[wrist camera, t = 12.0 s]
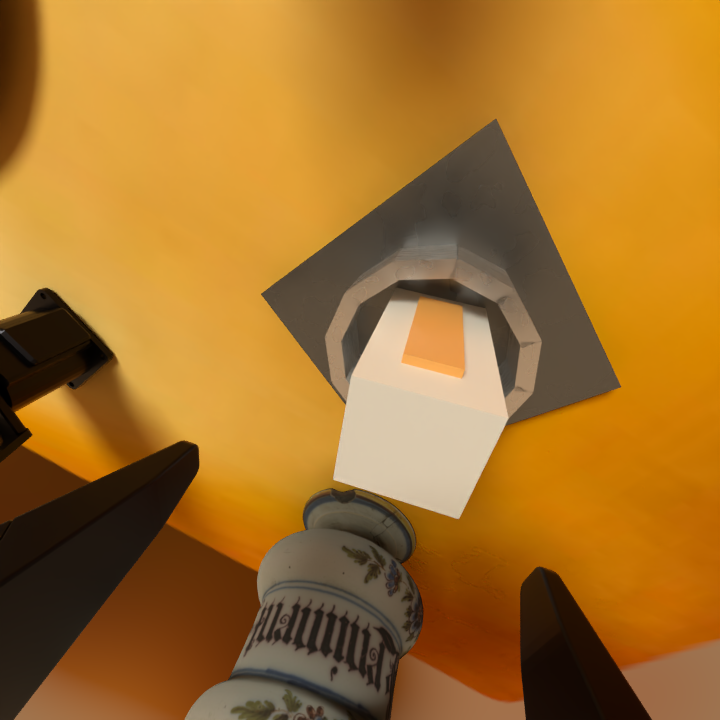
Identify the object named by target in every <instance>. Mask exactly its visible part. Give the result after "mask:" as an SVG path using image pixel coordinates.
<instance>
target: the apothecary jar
mask: <svg viewBox="0 0 720 720" xmlns="http://www.w3.org/2000/svg"><path fill="white" fill-rule="evenodd" d="M303 521H304V525H305V528H306V530H305V531H301V532H297V533H294V534H291V535H289V536H287V537H285V538H283V539H282V540H280V541H279V542H277V543H276V544H275V545H274V546H273V547H272V548H271V549H270V550H269V551H268V553H267V554H266V555H265V557H264V559H263V560H262V563H261V565H260V568H259V572H258V578H257V588H258V595H259V600H260V603H261V607H260V609H259V612H258V615H257V617H256V620H255V622H254V625H253V627H252V629H251V632H250V634H249V636H248V638H247V641H246V643H245V645H244V648H243V650H242V652H241V654H240V656H239V659H238V661H237V663H236V665H235V667H234V669H233V672H232V674H231V676H230V678H229V679H228V680H227V681H224V682H222V683H219V684H217V685H215V686H213V687H212V688H210V689H209V690H207V691H206V692H205V693H204V694H202V695H201V696H200V697H199V698H198V700H197V701H196V702H195V703H194V705H193V706H192V708H191V709H190V711H189V712H188V714H187V716H186V718H185V720H390V718H391V709H392V701H393V693H394V686H395V680H396V675H397V669H398V663H399V659H401V658H402V657H403V656H404V655H405V654H406V653H407V652H408V651H409V650H410V649H411V648H412V647H413V645H414V644H415V642H416V640H417V639H418V636H419V634H420V631H421V627H422V623H423V605H422V600H421V596H420V593H419V590H418V588H417V586H416V584H415V582H414V581H413V579H412V578H411V576H410V575H409V573H408V572H407V571H406V570H405V568H404V567H403V566H402V565H401V564H402V563H403V562H405V561H406V560H408V559H409V558H410V556H411V555H412V554H413V552H414V549H415V545H416V538H415V533H414V530H413V528H412V526H411V524H410V523H409V521H408V519H407V518H406V517H405V516H404V515H403V513H402V512H400V510H398V509H397V508H396V507H395V506H394V505H392V504H391V503H389V502H388V501H386V500H384V499H383V498H381V497H379V496H376V495H374V494H371V493H368V492H365V491H362V490H357V489H353V490H350V491H346V492H339V491H337V490H335V489H326V490H323V491H320V492H318V493H316V494H314V495H313V496H312V497H311V498H310V499H309V500H308V501H307V503H306V505H305V507H304V510H303Z"/></svg>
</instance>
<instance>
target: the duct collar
mask: <svg viewBox="0 0 720 720" xmlns="http://www.w3.org/2000/svg"><path fill="white" fill-rule="evenodd" d="M396 288H401V289H405V290H409V291H413V292H418V293H422V294H426V295H430V296H435V297H439V298H443V299H447V300H452V301H456V302H460V303H464V304H469V305H473V306H477V307H481V308H486V312H487V317H488V322H489V327H490V332H491V336H492V341H493V346H494V351H495V356H496V360H497V365H498V370H499V375H500V380H501V384H502V389H503V394H504V399H505V404H506V409H507V413H508V420H507V422H506V425H509V424H512V423H515V422H518V421H521V420H524V419H527V418H530V417H533V416H536V415H539V414H542V413H545V412H548V411H551V410H554V409H557V408H560V407H563V406H566V405H569V404H572V403H575V402H578V401H581V400H584V399H587V398H590V397H593V396H596V395H599V394H602V393H605V392H608V391H611V390H614V389H617V388H620V387H621V386H620V383H619V381H618V379H617V377H616V375H615V373H614V371H613V368H612V366H611V364H610V362H609V360H608V358H607V356H606V353H605V351H604V349H603V347H602V345H601V343H600V341H599V338H598V336H597V334H596V332H595V330H594V328H593V325H592V323H591V321H590V319H589V317H588V315H587V313H586V310H585V308H584V306H583V304H582V302H581V300H580V298H579V295H578V293H577V291H576V289H575V287H574V285H573V283H572V280H571V278H570V276H569V274H568V272H567V270H566V268H565V265H564V263H563V261H562V259H561V257H560V255H559V253H558V250H557V248H556V246H555V244H554V242H553V240H552V238H551V235H550V233H549V231H548V229H547V227H546V225H545V222H544V220H543V218H542V216H541V214H540V212H539V210H538V207H537V205H536V203H535V201H534V199H533V197H532V195H531V192H530V190H529V188H528V186H527V184H526V182H525V180H524V177H523V175H522V173H521V171H520V169H519V167H518V165H517V162H516V160H515V158H514V156H513V154H512V152H511V150H510V147H509V145H508V143H507V141H506V139H505V137H504V134H503V132H502V130H501V128H500V126H499V124H498V122H497V119H495V120H493V121H492V122H491V123H489V124H488V125H487V126H485V127H484V128H483V129H481V130H480V131H479V132H477V133H476V134H475V135H473V136H472V137H471V138H469V139H468V140H467V141H465V142H464V143H463V144H461V145H460V146H459V147H457V148H456V149H455V150H453V151H452V152H451V153H449V154H448V155H447V156H445V157H444V158H442V159H441V160H440V161H438V162H437V163H436V164H434V165H433V166H432V167H430V168H429V169H428V170H426V171H425V172H424V173H422V174H421V175H420V176H418V177H417V178H416V179H414V180H413V181H412V182H410V183H409V184H408V185H406V186H405V187H404V188H402V189H401V190H400V191H398V192H397V193H396V194H394V195H393V196H392V197H390V198H389V199H388V200H386V201H385V202H384V203H382V204H381V205H380V206H378V207H377V208H375V209H374V210H373V211H371V212H370V213H369V214H367V215H366V216H365V217H363V218H362V219H361V220H359V221H358V222H357V223H355V224H354V225H353V226H351V227H350V228H349V229H347V230H346V231H345V232H343V233H342V234H341V235H339V236H338V237H337V238H335V239H334V240H333V241H331V242H330V243H329V244H327V245H326V246H325V247H323V248H322V249H321V250H319V251H318V252H317V253H315V254H314V255H313V256H311V257H310V258H309V259H307V260H306V261H304V262H303V263H302V264H300V265H299V266H298V267H296V268H295V269H294V270H292V271H291V272H290V273H288V274H287V275H286V276H284V277H283V278H282V279H280V280H279V281H278V282H276V283H275V284H274V285H272V286H271V287H270V288H268V289H267V290H266V291H264V292H263V293H262V294H261V295H262V296H263V297H264V299H265V300H266V301H267V303H268V304H269V305H270V306H271V308H272V309H273V310H274V312H275V313H276V314H277V316H278V317H279V318H280V320H281V321H282V322H283V323H284V325H285V326H286V327H287V329H288V330H289V331H290V333H291V334H292V335H293V337H294V338H295V339H296V340H297V342H298V343H299V344H300V346H301V347H302V348H303V350H304V351H305V352H306V354H307V355H308V356H309V357H310V359H311V360H312V361H313V363H314V364H315V365H316V367H317V368H318V369H319V371H320V372H321V373H322V374H323V376H324V377H325V378H326V380H327V381H328V382H329V384H330V385H331V386H332V388H333V389H334V390H335V391H336V393H337V394H338V395H339V397H340V398H341V399H342V401H343V402H344V403H345V405H346V403H347V397H348V391H349V386H350V380H351V375H352V373H353V371H354V369H355V367H356V365H357V363H358V361H359V359H360V357H361V355H362V354H363V352H364V350H365V348H366V346H367V344H368V342H369V340H370V338H371V336H372V334H373V332H374V330H375V328H376V326H377V324H378V322H379V320H380V318H381V316H382V314H383V313H384V311H385V309H386V307H387V305H388V303H389V301H390V299H391V297H392V295H393V293H394V291H395V289H396ZM506 425H505V426H506Z"/></svg>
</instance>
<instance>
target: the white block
mask: <svg viewBox="0 0 720 720" xmlns="http://www.w3.org/2000/svg"><path fill="white" fill-rule="evenodd" d="M507 420H508V413H507V409H506V404H505V399H504V394H503V389H502V384H501V380H500V375H499V370H498V365H497V360H496V356H495V351H494V346H493V341H492V336H491V332H490V327H489V322H488V317H487V312H486V308H481V307H477V306H473V305H469V304H464V303H460V302H456V301H452V300H447V299H443V298H439V297H435V296H430V295H426V294H422V293H418V292H413V291H409V290H405V289H401V288H396V289H395V291H394V293H393V295H392V297H391V299H390V301H389V303H388V305H387V307H386V309H385V311H384V313H383V314H382V316H381V318H380V320H379V322H378V324H377V326H376V328H375V330H374V332H373V334H372V336H371V338H370V340H369V342H368V344H367V346H366V348H365V350H364V352H363V354H362V355H361V357H360V359H359V361H358V363H357V365H356V367H355V369H354V371H353V373H352V375H351V380H350V386H349V391H348V397H347V403H346V408H345V414H344V420H343V425H342V431H341V437H340V442H339V448H338V454H337V459H336V465H335V471H334V476H333V480H336V481H339V482H342V483H345V484H348V485H352V486H355V487H358V488H361V489H364V490H368V491H371V492H374V493H377V494H380V495H383V496H387V497H390V498H393V499H396V500H399V501H402V502H406V503H409V504H412V505H415V506H418V507H421V508H425V509H428V510H431V511H434V512H437V513H440V514H444V515H447V516H450V517H453V518H456V519H459V518H460V516H461V514H462V512H463V510H464V508H465V506H466V504H467V501H468V499H469V497H470V495H471V493H472V491H473V489H474V487H475V485H476V483H477V481H478V479H479V477H480V475H481V473H482V471H483V469H484V467H485V465H486V463H487V461H488V459H489V457H490V455H491V453H492V451H493V449H494V447H495V445H496V443H497V441H498V439H499V437H500V435H501V433H502V431H503V429H504V427H505V425H506V422H507Z"/></svg>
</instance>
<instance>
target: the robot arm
mask: <svg viewBox="0 0 720 720" xmlns="http://www.w3.org/2000/svg"><path fill="white" fill-rule="evenodd" d="M111 359H112V354H111V353H110V351H109V350H108V349H107V348H106V347H105V346H104V345H103V344H102V343H101V342H100V341H99V340H98V339H97V338H96V337H95V336H94V335H93V334H92V333H91V332H90V330H89V329H88V328H87V327H86V326H85V325H84V324H83V323H82V322H81V321H80V320H79V319H78V318H77V317H76V316H75V315H74V314H73V313H72V312H71V311H70V310H69V309H68V308H67V306H66V305H65V304H64V303H63V302H62V301H61V300H60V299H59V298H58V297H57V296H56V295H55V294H54V293H53V292H52V291H51V290H50V289H48V288H42V289H39V290H38V291H37V292H36V293H35V295H34V296H33V297H32V299H31V300H30V301H29V303H28V304H27V305H26V307H25V308H24V309H23V310H22V312H21V313H20V314H18V315H15V316H12V317H9V318H6V319H3V320H0V462H1V461H3V460H4V459H5V458H6V457H7V456H8V455H10V454H11V453H12V452H13V451H14V450H16V449H17V448H18V447H19V446H20V445H22V444H23V443H24V442H25V441H26V440H27V439H29V438H30V437H31V436H32V433H31V432H30V430H29V429H28V428H25V426H24V425H23V424H22V422H21V421H20V420H19V418H18V417H17V415H16V414H15V413H14V412H16V411H18V410H19V409H21V408H23V407H25V406H27V405H28V404H30V403H32V402H34V401H36V400H38V399H39V398H41V397H43V396H45V395H47V394H49V393H50V392H52V391H54V390H56V389H58V388H59V387H61V386H63V385H65V384H67V385H68V386H69V387H70V388H72V389H77V388H79V387H80V386H82V385H83V384H84V383H85V382H86V381H87V380H88V379H90V378H91V377H92V376H93V375H94V374H95V373H96V372H98V371H99V370H100V369H101V368H102V367H103V366H104V365H106V364H107V363H108V362H109V361H110V360H111ZM198 469H199V448H198V446H197V445H196V444H194V443H191V442H188V441H180V442H177V443H175V444H173V445H171V446H169V447H167V448H164V449H162V450H160V451H158V452H156V453H154V454H152V455H149V456H147V457H145V458H143V459H141V460H139V461H136V462H134V463H132V464H130V465H128V466H126V467H123V468H121V469H119V470H117V471H115V472H113V473H110V474H108V475H106V476H104V477H102V478H100V479H98V480H95V481H93V482H91V483H89V484H87V485H85V486H82V487H80V488H78V489H76V490H74V491H72V492H69V493H68V494H65V495H63V496H61V497H59V498H56V499H55V500H52V501H50V502H48V503H46V504H44V505H41V506H39V507H37V508H35V509H33V510H31V511H29V512H26V513H24V514H22V515H20V516H18V517H15V518H14V519H13V521H12V520H9V521H7V522H4V523H2V524H0V720H14V719H15V717H16V716H17V715H18V713H19V712H20V711H21V709H22V708H23V707H24V706H25V704H26V703H27V702H28V701H29V699H30V698H31V696H32V695H33V694H34V692H35V691H36V690H37V689H38V688H39V686H40V685H41V684H42V682H43V681H44V680H45V679H46V677H47V676H48V675H49V673H50V672H51V671H52V670H53V668H54V667H55V666H56V664H57V663H58V662H59V661H60V659H61V658H62V657H63V655H64V654H65V653H66V652H67V650H68V649H69V648H70V646H71V645H72V644H73V642H74V641H75V640H76V638H77V637H78V636H79V635H80V633H81V632H82V631H83V629H84V628H85V627H86V626H87V624H88V623H89V622H90V621H91V619H92V618H93V617H94V615H95V614H96V613H97V611H98V610H99V609H100V608H101V606H102V605H103V604H104V602H105V601H106V600H107V598H108V597H109V596H110V595H111V593H112V592H113V591H114V590H115V588H116V587H117V586H118V584H119V583H120V582H121V581H122V579H123V578H124V577H125V575H126V574H127V573H128V571H129V570H130V569H131V568H132V566H133V565H134V564H135V563H136V561H137V560H138V558H139V557H140V556H141V555H142V554H143V552H144V550H146V548H147V547H148V546H149V544H150V543H151V542H152V541H153V539H154V538H155V537H156V535H157V534H158V533H159V531H160V530H161V529H162V527H163V526H164V524H165V523H166V521H167V520H168V518H169V517H170V515H171V514H172V512H173V510H174V509H175V507H176V506H177V504H178V502H179V501H180V499H181V498H182V496H183V495H184V493H185V491H186V490H187V488H188V487H189V485H190V483H191V482H192V480H193V479H194V477H195V475H196V474H197V472H198ZM520 652H521V673H522V684H523V694H524V704H525V714H526V720H652V719H651V717H650V716H649V714H648V713H647V711H646V710H645V708H644V707H643V705H642V703H641V702H640V700H639V699H638V697H637V696H636V694H635V693H634V691H633V689H632V688H631V686H630V685H629V683H628V682H627V680H626V679H625V677H624V676H623V674H622V672H621V671H620V669H619V668H618V666H617V665H616V663H615V662H614V660H613V658H612V657H611V655H610V654H609V652H608V651H607V649H606V648H605V646H604V644H603V643H602V641H601V640H600V638H599V637H598V635H597V634H596V632H595V631H594V629H593V627H592V626H591V624H590V623H589V621H588V620H587V618H586V617H585V615H584V613H583V612H582V610H581V609H580V607H579V606H578V604H577V603H576V601H575V599H574V598H573V596H572V595H571V593H570V592H569V590H568V589H567V587H566V586H565V584H564V582H563V581H562V579H561V578H560V576H559V575H558V574H557V573H556V572H554V571H552V570H549V569H546V568H543V567H537V568H535V569H534V571H533V572H532V573H531V574H530V575H529V576H528V577H527V578H526V580H525V581H524V582H523V584H522V586H521V592H520Z"/></svg>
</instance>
